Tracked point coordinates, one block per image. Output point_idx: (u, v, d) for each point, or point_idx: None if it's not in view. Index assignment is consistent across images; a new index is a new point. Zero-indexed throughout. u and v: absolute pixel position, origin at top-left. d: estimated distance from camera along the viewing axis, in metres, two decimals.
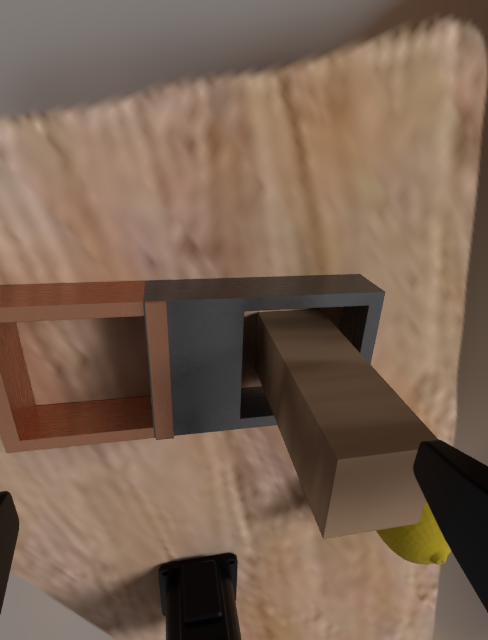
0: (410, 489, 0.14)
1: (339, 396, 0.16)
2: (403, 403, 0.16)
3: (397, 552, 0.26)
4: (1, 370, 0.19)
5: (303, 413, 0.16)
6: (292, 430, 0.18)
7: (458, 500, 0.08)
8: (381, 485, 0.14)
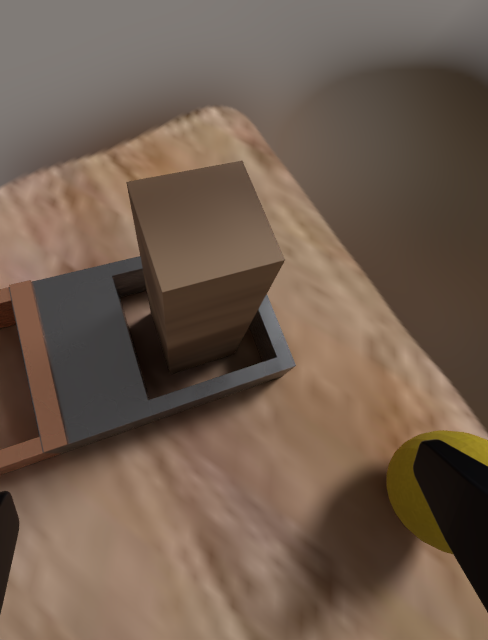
0: (239, 213, 0.13)
1: None
2: None
3: None
4: None
5: (141, 252, 0.15)
6: (155, 302, 0.16)
7: (458, 500, 0.08)
8: (198, 209, 0.12)
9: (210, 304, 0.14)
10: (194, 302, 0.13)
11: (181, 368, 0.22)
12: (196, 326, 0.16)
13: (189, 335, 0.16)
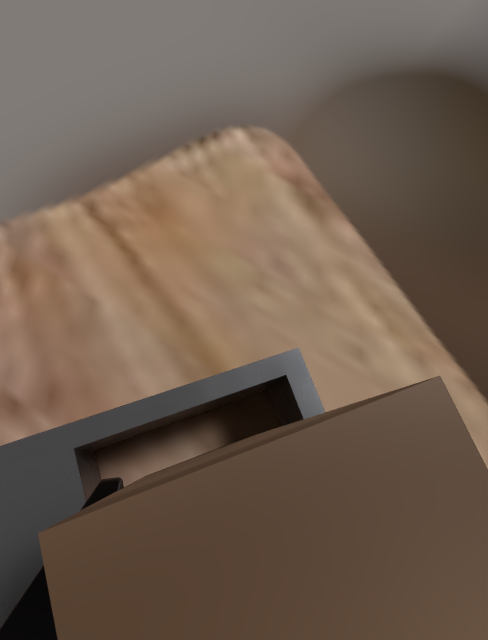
0: (473, 623, 0.03)
1: (196, 462, 0.06)
2: (340, 408, 0.06)
3: None
4: None
5: None
6: None
7: None
8: (327, 633, 0.03)
9: None
10: None
11: None
12: None
13: None
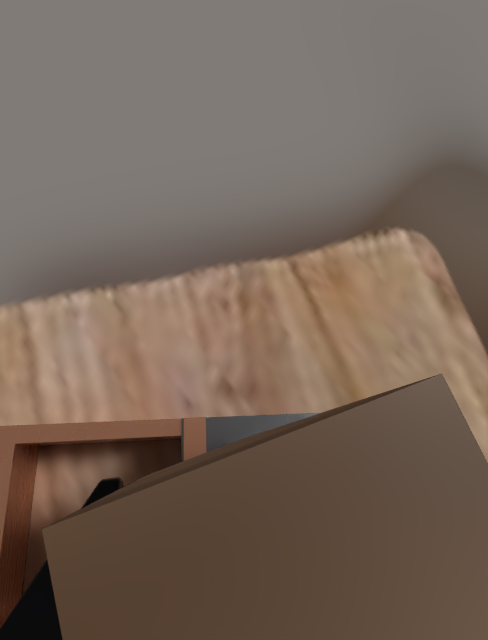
0: (475, 618, 0.03)
1: (197, 460, 0.06)
2: (342, 406, 0.06)
3: None
4: (7, 512, 0.16)
5: None
6: None
7: None
8: (328, 628, 0.03)
9: None
10: None
11: None
12: None
13: None
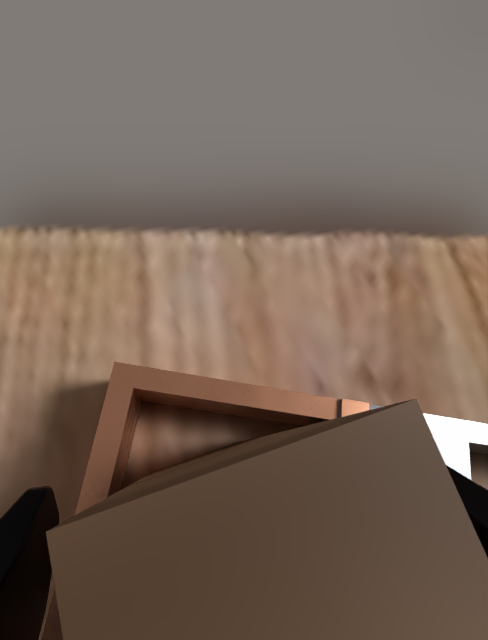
0: (433, 626, 0.04)
1: (193, 466, 0.07)
2: (331, 420, 0.07)
3: None
4: (113, 474, 0.12)
5: None
6: None
7: None
8: (299, 629, 0.04)
9: None
10: None
11: None
12: None
13: None
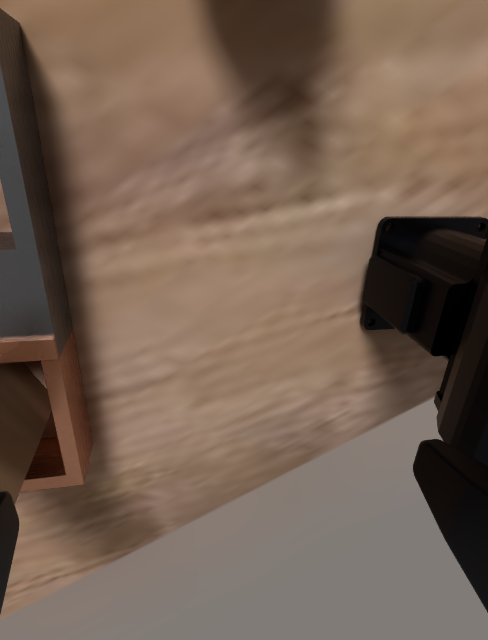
0: None
1: None
2: None
3: None
4: None
5: None
6: None
7: (458, 500, 0.08)
8: None
9: None
10: None
11: (45, 398, 0.21)
12: None
13: None
